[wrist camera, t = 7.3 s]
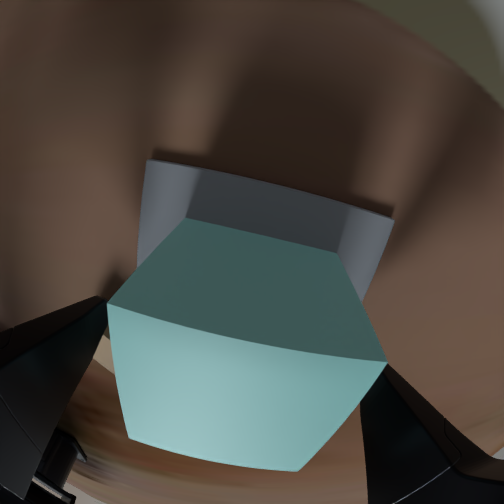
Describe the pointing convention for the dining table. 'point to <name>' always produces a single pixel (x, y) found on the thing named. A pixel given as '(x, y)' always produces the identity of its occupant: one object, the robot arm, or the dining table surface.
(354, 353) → the teal block
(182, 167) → the coaster
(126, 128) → the dining table surface
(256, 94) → the dining table surface
